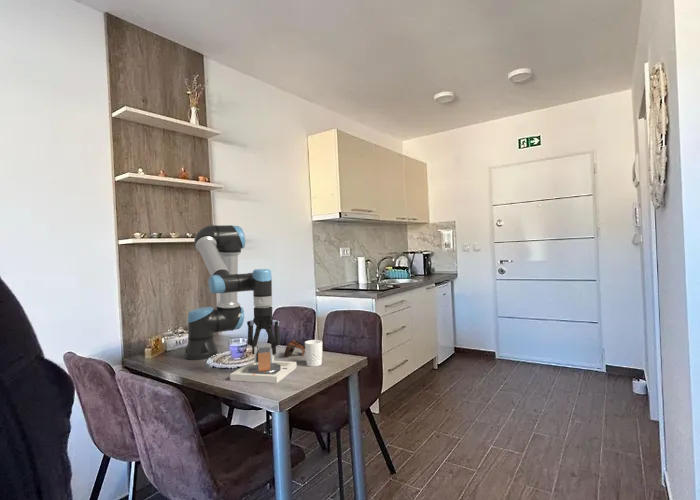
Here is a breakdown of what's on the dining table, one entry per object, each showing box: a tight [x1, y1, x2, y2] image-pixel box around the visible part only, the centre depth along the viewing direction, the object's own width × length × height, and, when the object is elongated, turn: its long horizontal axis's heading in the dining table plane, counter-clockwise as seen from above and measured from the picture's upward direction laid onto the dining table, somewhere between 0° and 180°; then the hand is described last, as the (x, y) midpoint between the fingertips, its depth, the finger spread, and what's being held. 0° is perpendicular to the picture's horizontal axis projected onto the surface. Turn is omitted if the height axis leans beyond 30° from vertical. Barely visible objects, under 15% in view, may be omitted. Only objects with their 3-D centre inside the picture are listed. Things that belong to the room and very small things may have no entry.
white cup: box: [304, 339, 323, 367], centre depth 174 cm, size 8×8×10 cm
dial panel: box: [229, 359, 297, 384], centre depth 162 cm, size 20×20×3 cm
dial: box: [248, 346, 281, 375], centre depth 162 cm, size 13×13×9 cm
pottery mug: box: [284, 339, 305, 358], centre depth 190 cm, size 12×10×8 cm
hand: (264, 362), depth 162 cm, fingers closed on dial, 6 cm apart
